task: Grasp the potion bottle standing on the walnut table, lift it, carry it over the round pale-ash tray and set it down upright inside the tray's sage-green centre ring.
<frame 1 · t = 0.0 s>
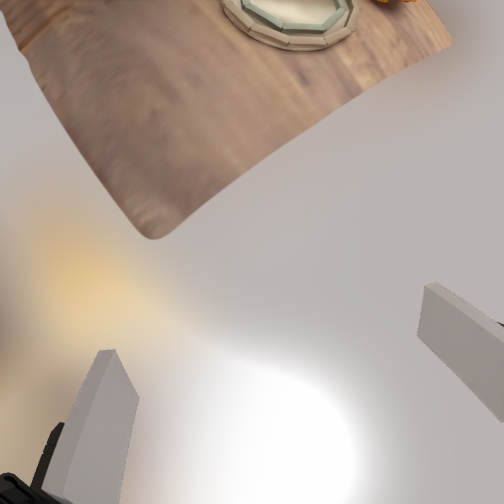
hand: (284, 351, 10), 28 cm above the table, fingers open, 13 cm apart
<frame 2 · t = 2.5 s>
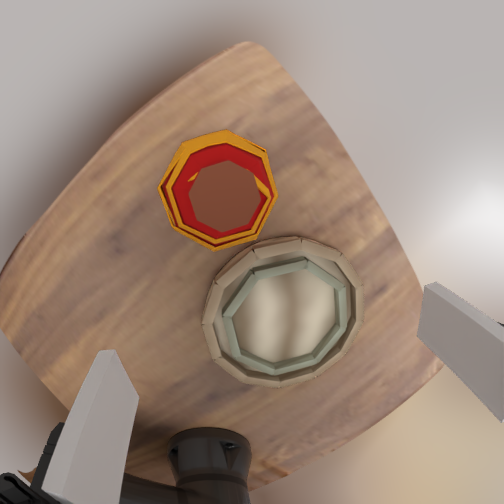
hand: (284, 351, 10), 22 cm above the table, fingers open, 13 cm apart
potion bottle: (216, 186, 30), on the table
tray: (284, 313, 35), on the table
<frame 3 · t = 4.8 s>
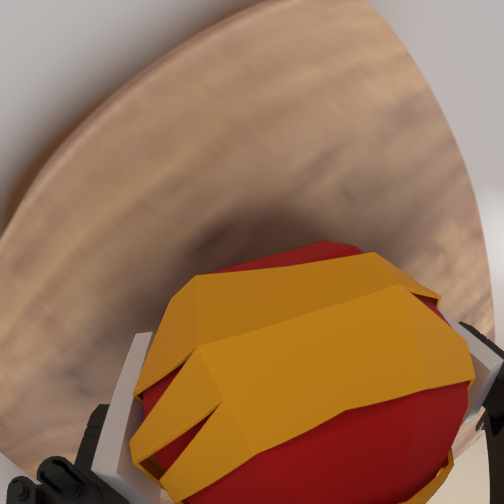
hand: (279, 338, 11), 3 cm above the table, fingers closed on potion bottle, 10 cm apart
potion bottle: (267, 305, 14), on the table, touching gripper
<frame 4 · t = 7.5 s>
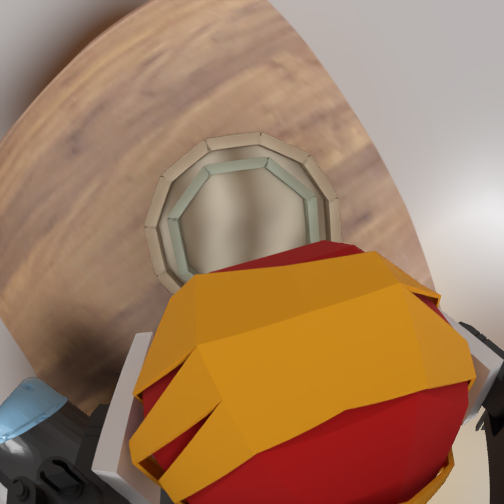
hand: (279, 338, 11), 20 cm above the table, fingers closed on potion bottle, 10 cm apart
potion bottle: (267, 305, 14), point 17 cm above the table, touching gripper
tray: (244, 229, 31), on the table
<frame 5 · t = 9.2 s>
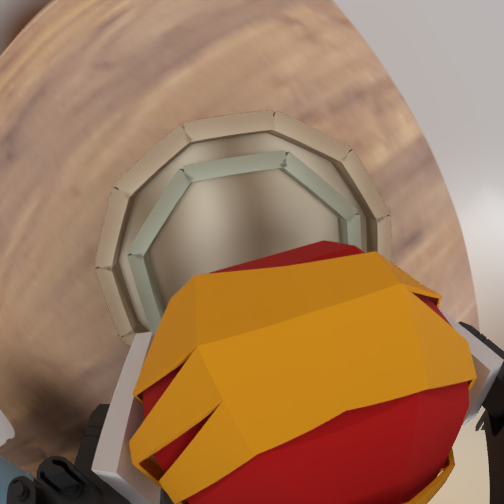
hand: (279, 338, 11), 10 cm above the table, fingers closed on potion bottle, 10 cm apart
potion bottle: (267, 305, 14), point 7 cm above the table, touching gripper
tray: (248, 264, 20), on the table
when the fingers open (6 cm above the table, at t = 10.4 s): potion bottle drops 2 cm, resting on tray.
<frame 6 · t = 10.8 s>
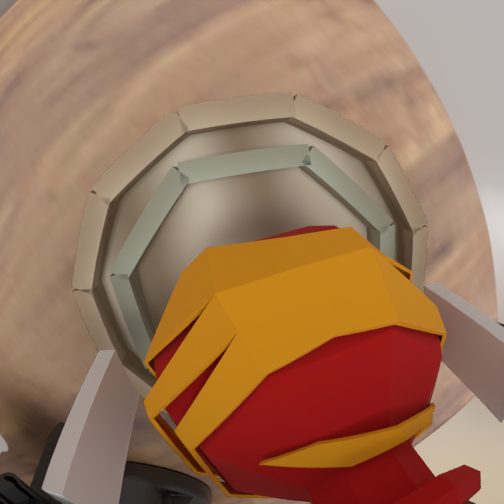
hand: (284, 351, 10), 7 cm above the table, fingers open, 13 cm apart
potion bottle: (258, 292, 16), point 1 cm above the table, touching tray
tray: (259, 283, 17), on the table
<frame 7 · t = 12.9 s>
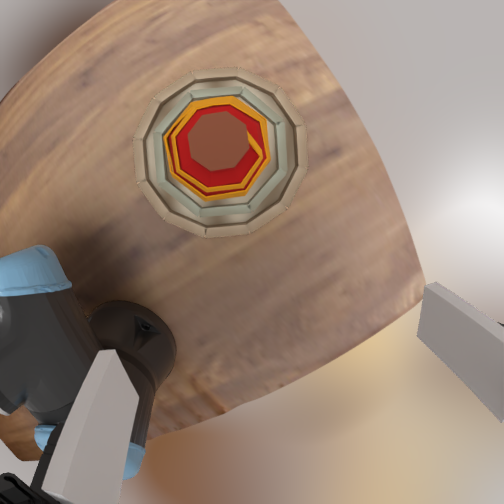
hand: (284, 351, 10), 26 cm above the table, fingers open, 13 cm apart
potion bottle: (218, 150, 32), point 1 cm above the table, touching tray
tray: (220, 151, 33), on the table
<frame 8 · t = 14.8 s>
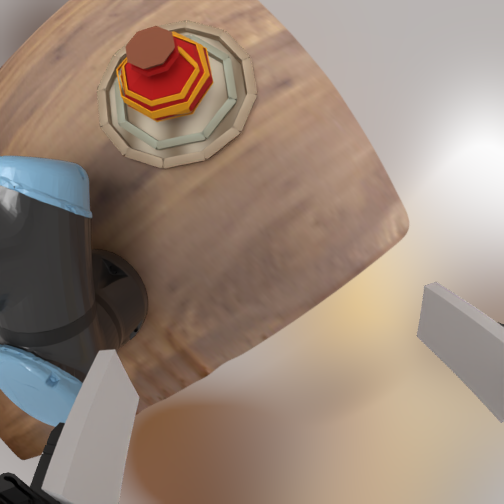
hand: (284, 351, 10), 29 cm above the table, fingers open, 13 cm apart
potion bottle: (173, 91, 31), point 1 cm above the table, touching tray
tray: (175, 92, 32), on the table
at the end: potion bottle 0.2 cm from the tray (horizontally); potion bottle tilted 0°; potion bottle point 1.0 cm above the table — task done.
